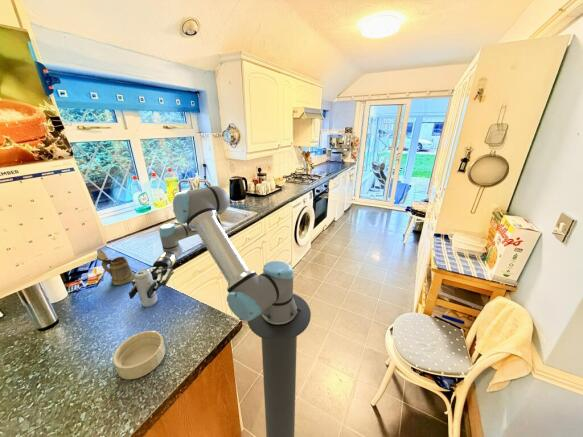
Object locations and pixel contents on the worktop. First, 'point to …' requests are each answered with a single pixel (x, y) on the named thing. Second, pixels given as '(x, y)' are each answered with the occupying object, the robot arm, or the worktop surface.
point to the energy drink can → (145, 287)
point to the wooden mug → (116, 268)
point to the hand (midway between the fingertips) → (139, 295)
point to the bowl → (139, 354)
